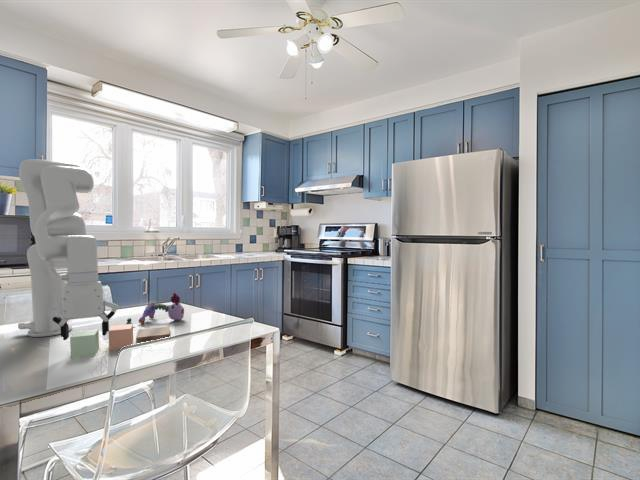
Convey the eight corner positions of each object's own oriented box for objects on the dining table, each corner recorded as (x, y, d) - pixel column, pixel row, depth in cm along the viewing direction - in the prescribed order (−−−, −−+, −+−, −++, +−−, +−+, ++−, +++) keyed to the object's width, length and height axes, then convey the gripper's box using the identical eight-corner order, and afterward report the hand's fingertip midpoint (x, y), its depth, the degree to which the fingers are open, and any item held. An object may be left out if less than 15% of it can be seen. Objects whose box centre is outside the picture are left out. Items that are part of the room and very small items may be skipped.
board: (136, 342, 117) (136, 337, 117) (138, 333, 126) (138, 329, 126) (170, 338, 121) (169, 333, 121) (169, 330, 130) (169, 326, 130)
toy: (168, 339, 138) (187, 304, 138) (133, 321, 138) (152, 286, 137) (178, 331, 149) (195, 298, 149) (146, 314, 148) (163, 282, 148)
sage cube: (70, 358, 103) (70, 337, 103) (75, 351, 109) (75, 331, 109) (95, 355, 106) (94, 334, 106) (99, 348, 111) (98, 329, 111)
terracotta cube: (109, 350, 110) (108, 330, 109) (112, 344, 115) (111, 325, 115) (131, 348, 112) (131, 328, 112) (133, 342, 118) (132, 323, 117)
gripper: (43, 282, 100) (45, 344, 100) (115, 277, 106) (117, 335, 107) (51, 279, 107) (53, 337, 107) (118, 274, 113) (120, 329, 113)
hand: (85, 336), depth 107 cm, fingers open, 9 cm apart
